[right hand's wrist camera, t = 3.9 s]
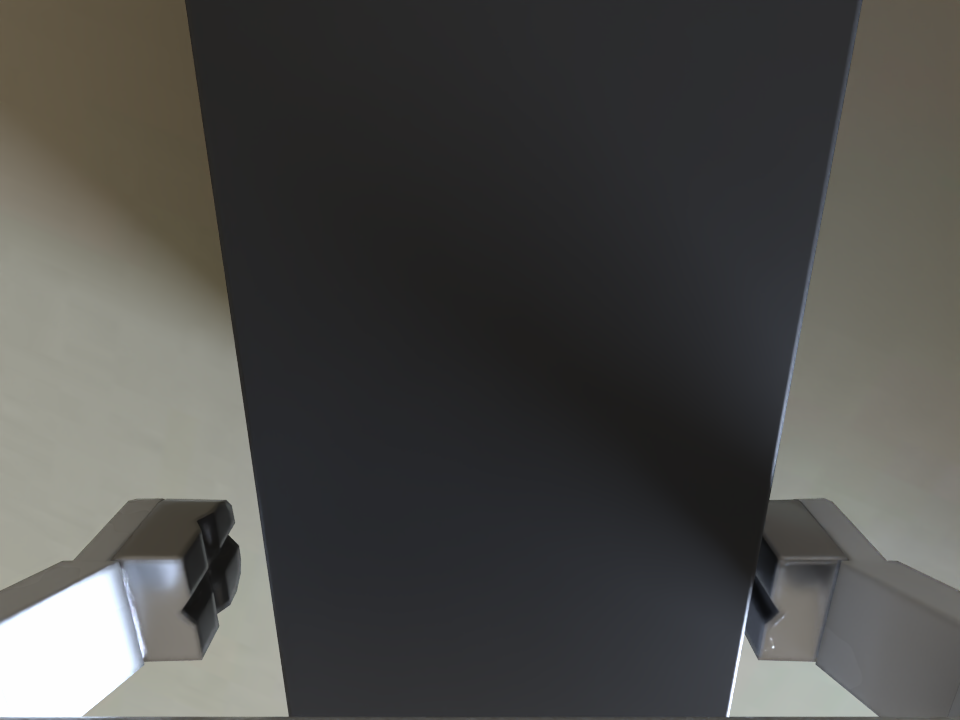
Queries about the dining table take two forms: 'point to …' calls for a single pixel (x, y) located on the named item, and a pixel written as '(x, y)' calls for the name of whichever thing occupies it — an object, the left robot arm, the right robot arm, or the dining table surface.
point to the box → (516, 333)
